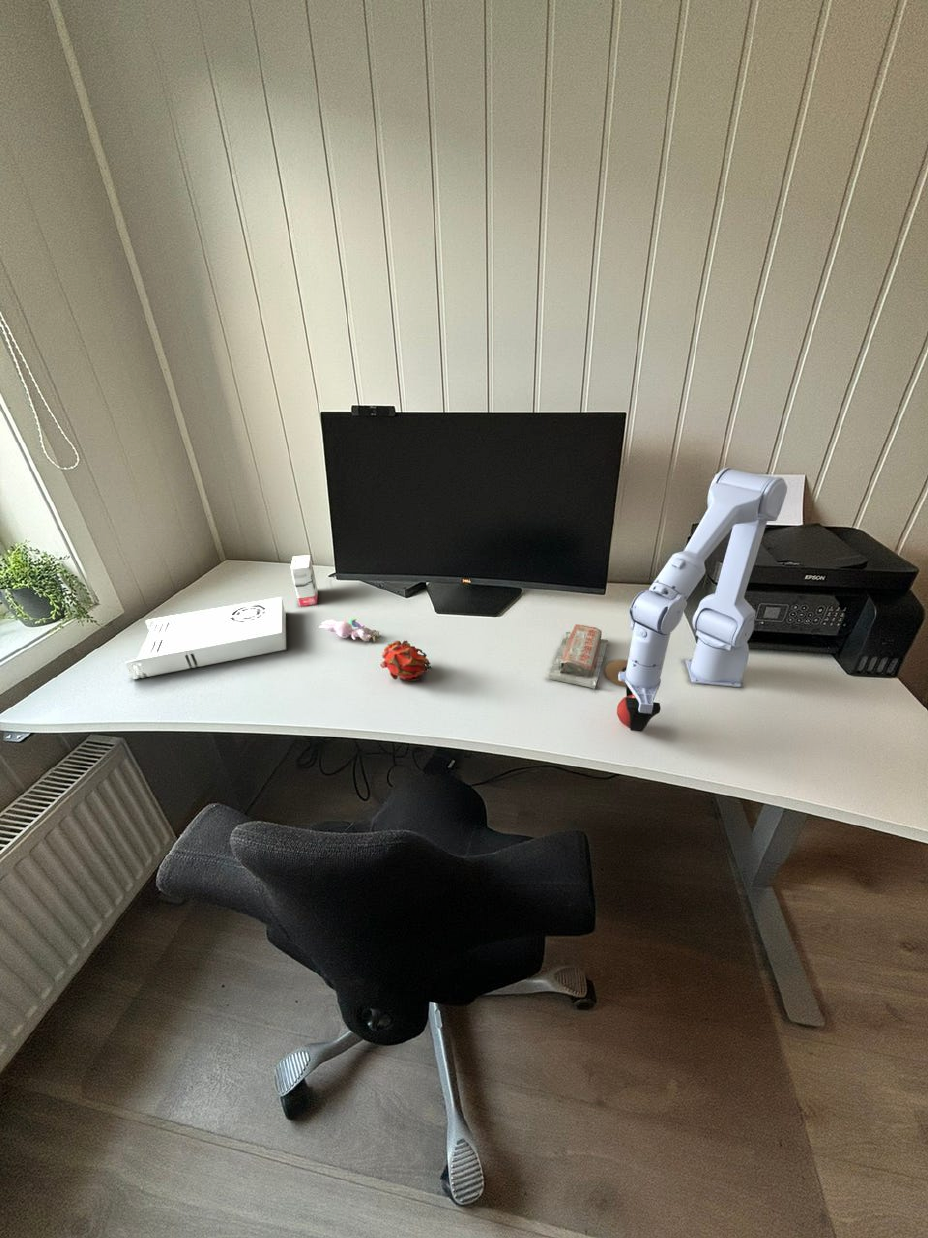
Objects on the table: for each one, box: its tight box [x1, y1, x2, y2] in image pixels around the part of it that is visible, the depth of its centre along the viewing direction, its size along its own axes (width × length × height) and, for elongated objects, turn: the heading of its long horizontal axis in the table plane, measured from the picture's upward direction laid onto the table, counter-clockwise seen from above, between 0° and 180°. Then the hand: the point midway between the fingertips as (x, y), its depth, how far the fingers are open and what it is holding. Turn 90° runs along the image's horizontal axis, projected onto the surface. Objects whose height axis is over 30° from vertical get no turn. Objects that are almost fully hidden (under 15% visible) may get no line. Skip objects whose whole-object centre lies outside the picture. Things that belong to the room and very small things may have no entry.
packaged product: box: [548, 623, 609, 690], centre depth 107 cm, size 18×5×10 cm
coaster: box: [604, 659, 628, 688], centre depth 104 cm, size 9×9×1 cm
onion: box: [616, 694, 636, 729], centre depth 88 cm, size 6×6×8 cm
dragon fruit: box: [379, 640, 432, 682], centre depth 104 cm, size 8×8×12 cm
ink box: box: [290, 555, 319, 607], centre depth 135 cm, size 8×5×12 cm, turn 13°
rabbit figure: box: [318, 618, 380, 642], centre depth 118 cm, size 6×6×15 cm
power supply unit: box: [125, 596, 287, 680], centre depth 118 cm, size 19×33×5 cm, turn 108°
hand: (634, 716), depth 89 cm, fingers open, 6 cm apart
